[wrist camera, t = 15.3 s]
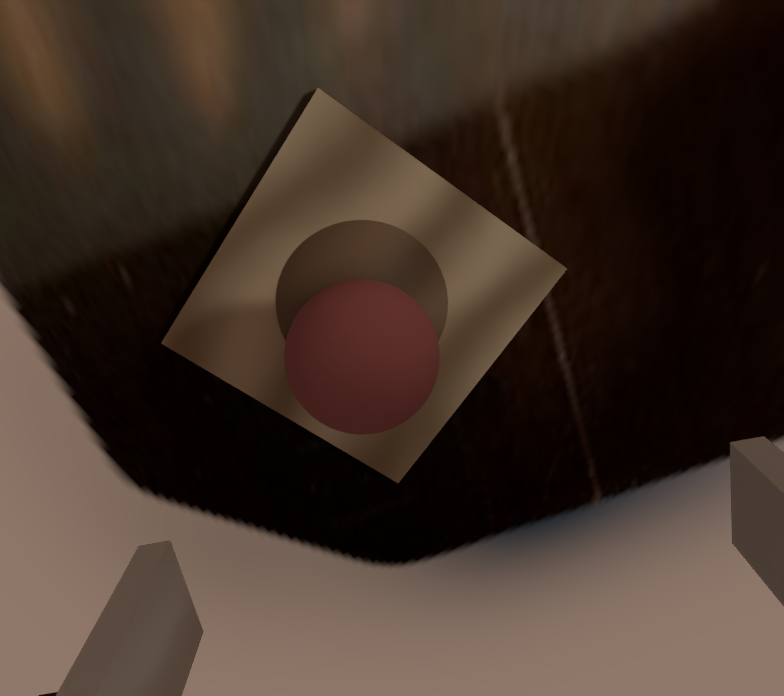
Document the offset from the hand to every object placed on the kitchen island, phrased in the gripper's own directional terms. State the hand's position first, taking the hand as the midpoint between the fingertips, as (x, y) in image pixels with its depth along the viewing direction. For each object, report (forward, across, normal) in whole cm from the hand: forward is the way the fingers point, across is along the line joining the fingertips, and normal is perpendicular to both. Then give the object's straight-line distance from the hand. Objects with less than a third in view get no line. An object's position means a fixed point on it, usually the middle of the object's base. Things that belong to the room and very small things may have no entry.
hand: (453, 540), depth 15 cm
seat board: (+25, +3, +1) cm, 25 cm away
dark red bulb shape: (+24, +3, +1) cm, 24 cm away
